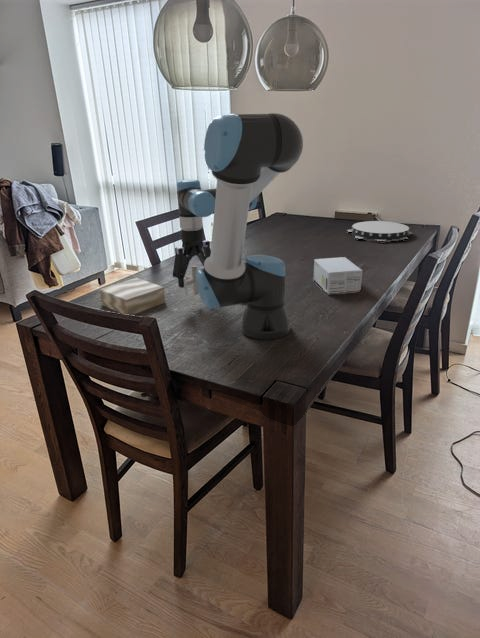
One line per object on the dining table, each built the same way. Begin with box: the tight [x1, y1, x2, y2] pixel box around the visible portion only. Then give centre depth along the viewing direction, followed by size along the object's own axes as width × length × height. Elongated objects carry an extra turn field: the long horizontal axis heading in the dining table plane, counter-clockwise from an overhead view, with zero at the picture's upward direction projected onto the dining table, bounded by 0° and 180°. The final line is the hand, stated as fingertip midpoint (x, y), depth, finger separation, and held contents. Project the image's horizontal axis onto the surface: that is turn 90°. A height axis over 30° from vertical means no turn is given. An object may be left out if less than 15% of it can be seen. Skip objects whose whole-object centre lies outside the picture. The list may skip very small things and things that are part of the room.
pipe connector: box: [184, 265, 199, 296], centre depth 163 cm, size 10×10×10 cm
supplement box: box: [313, 256, 363, 294], centre depth 179 cm, size 17×13×9 cm
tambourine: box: [346, 220, 413, 241], centre depth 251 cm, size 34×33×5 cm
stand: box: [99, 277, 166, 316], centre depth 168 cm, size 16×16×6 cm
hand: (195, 291), depth 164 cm, fingers closed on pipe connector, 10 cm apart
